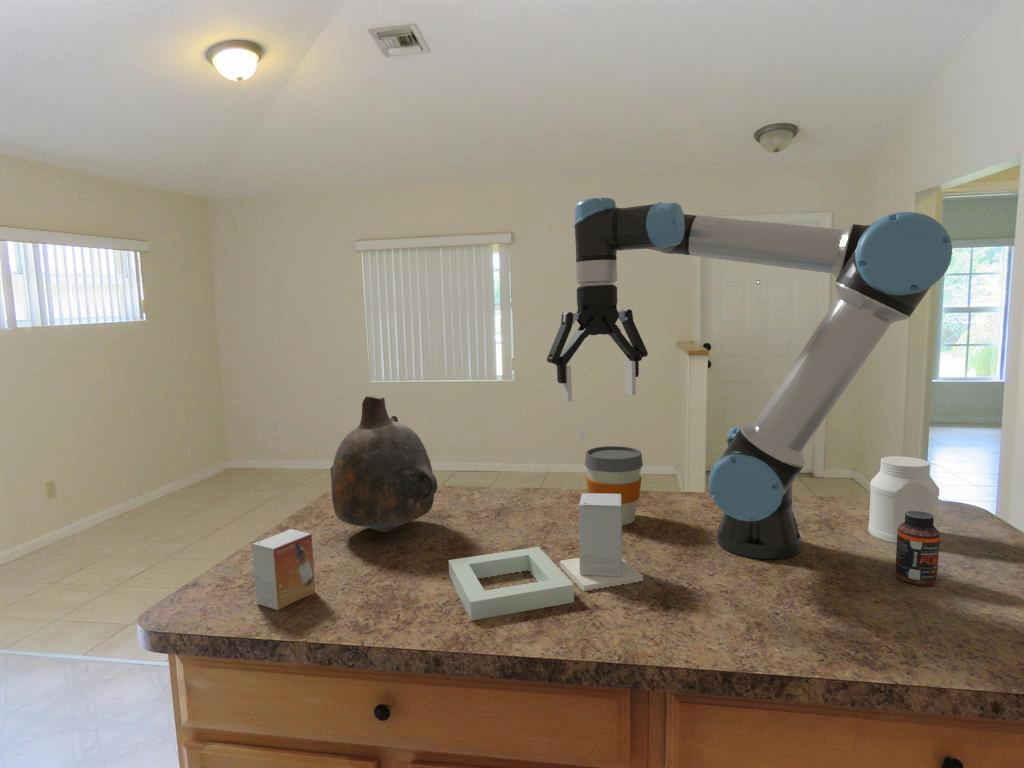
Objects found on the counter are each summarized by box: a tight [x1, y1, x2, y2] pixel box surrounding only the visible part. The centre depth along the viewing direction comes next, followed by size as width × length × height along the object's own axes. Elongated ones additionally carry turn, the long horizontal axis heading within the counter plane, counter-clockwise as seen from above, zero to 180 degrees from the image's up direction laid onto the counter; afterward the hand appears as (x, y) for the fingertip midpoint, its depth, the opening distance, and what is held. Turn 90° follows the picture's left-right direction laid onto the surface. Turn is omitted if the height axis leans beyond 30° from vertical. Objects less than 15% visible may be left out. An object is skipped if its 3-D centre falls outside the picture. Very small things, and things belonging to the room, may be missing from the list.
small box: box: [251, 528, 316, 611], centre depth 106 cm, size 8×6×10 cm
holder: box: [447, 546, 575, 622], centre depth 107 cm, size 17×17×3 cm
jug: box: [330, 395, 438, 533], centre depth 135 cm, size 24×21×30 cm
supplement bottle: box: [894, 511, 941, 587], centre depth 105 cm, size 6×6×11 cm
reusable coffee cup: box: [584, 445, 644, 526], centre depth 139 cm, size 13×13×15 cm
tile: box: [559, 557, 644, 592], centre depth 112 cm, size 11×11×1 cm
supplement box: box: [578, 492, 623, 577], centre depth 111 cm, size 7×7×13 cm
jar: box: [867, 455, 940, 544], centre depth 125 cm, size 12×10×15 cm
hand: (599, 397), depth 121 cm, fingers open, 13 cm apart
